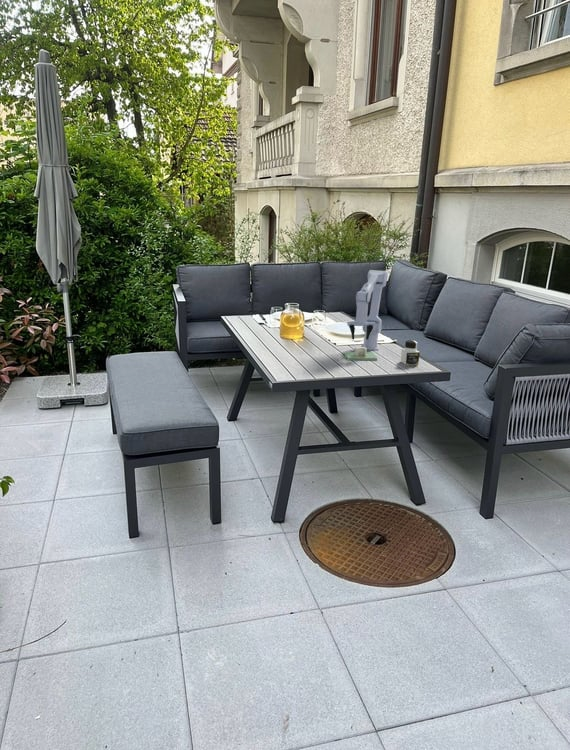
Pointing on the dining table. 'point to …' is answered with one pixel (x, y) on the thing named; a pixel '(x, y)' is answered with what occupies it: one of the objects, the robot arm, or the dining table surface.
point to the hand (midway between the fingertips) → (360, 339)
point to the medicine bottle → (410, 353)
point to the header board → (360, 356)
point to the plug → (360, 350)
